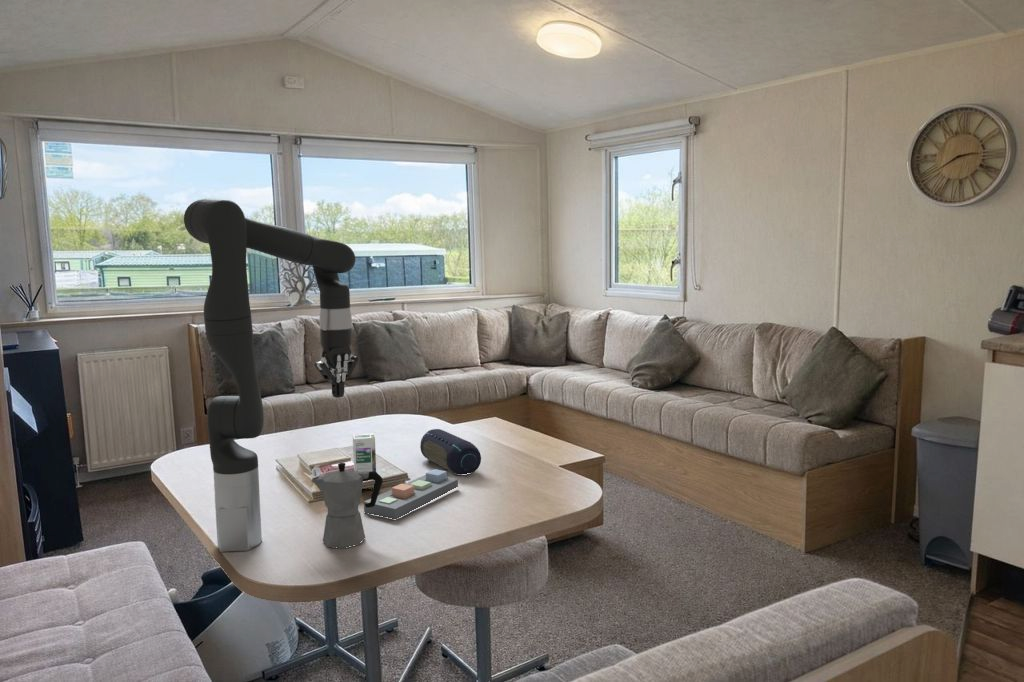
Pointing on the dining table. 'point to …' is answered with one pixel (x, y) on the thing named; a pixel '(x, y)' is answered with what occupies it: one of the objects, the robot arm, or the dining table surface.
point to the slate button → (436, 476)
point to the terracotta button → (403, 491)
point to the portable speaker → (450, 451)
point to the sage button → (421, 485)
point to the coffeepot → (345, 504)
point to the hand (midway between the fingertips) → (338, 396)
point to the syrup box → (364, 452)
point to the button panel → (408, 499)
